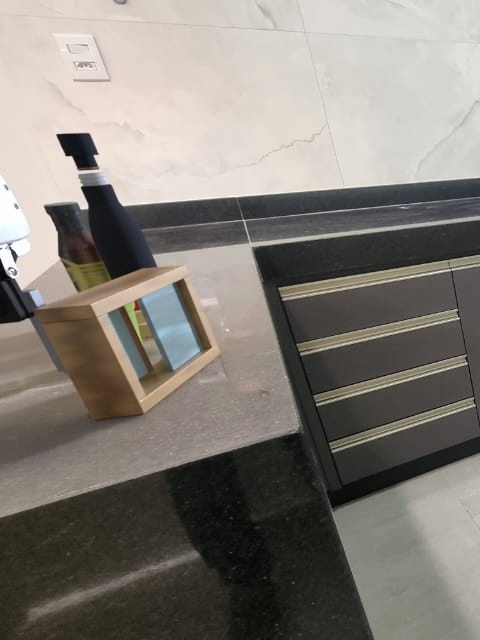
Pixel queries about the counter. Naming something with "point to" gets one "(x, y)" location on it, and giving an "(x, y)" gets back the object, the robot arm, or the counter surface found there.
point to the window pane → (120, 326)
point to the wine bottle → (107, 213)
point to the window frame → (107, 352)
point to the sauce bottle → (77, 246)
